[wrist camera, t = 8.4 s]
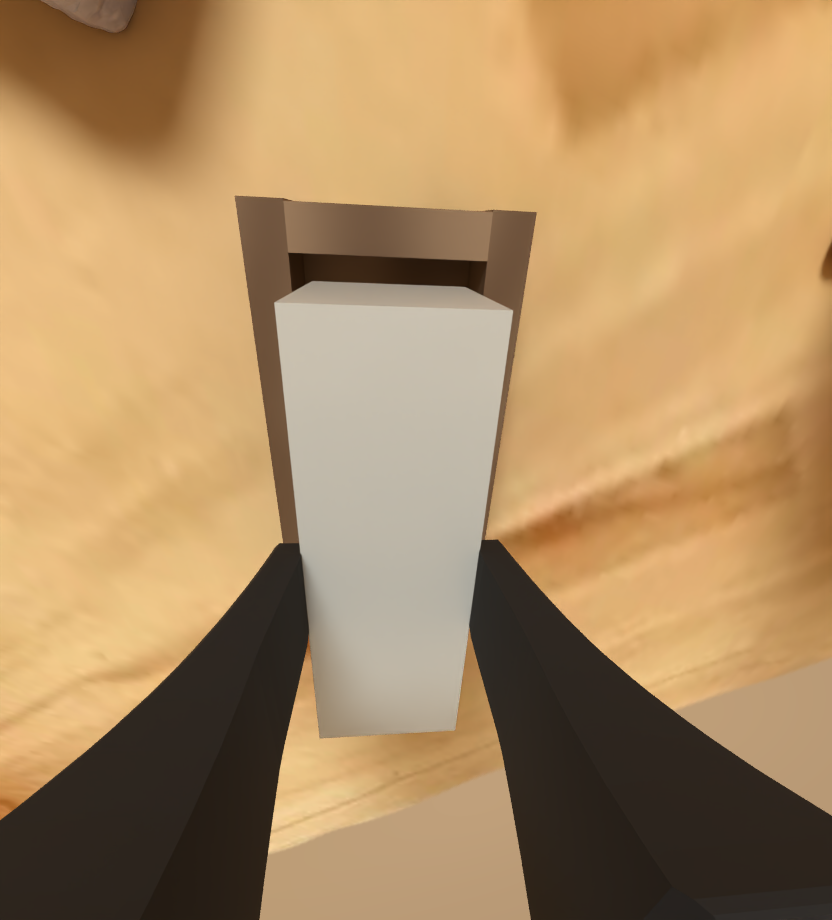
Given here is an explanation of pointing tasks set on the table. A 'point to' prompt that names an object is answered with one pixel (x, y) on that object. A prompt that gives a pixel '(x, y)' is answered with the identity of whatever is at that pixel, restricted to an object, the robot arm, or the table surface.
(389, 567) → the rectangular block
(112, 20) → the stone block
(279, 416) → the shallow brown tray
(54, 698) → the table surface
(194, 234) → the table surface
